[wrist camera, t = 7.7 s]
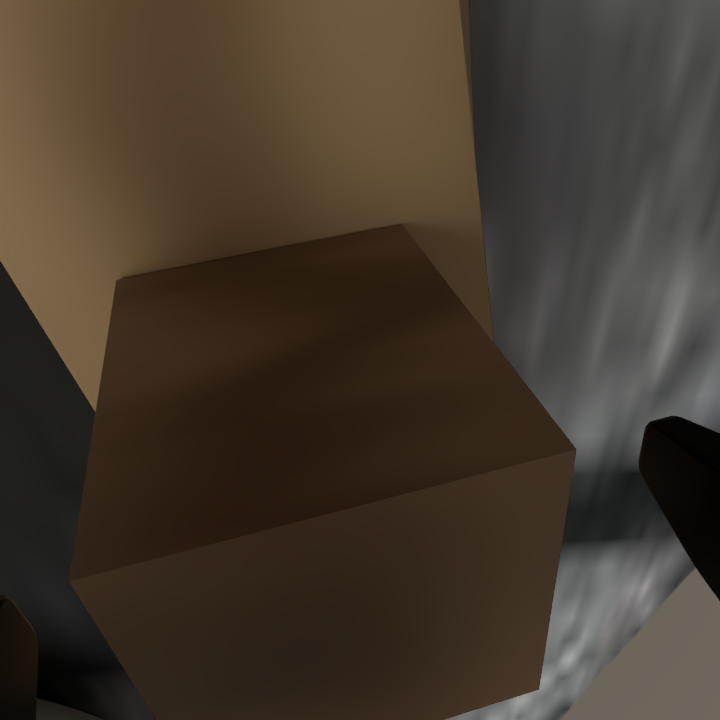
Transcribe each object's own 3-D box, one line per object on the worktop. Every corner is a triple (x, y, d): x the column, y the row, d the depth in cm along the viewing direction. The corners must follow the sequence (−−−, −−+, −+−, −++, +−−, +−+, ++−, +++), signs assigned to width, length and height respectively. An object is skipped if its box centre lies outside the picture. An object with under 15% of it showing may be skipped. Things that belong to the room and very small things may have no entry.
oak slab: (371, -205, 10) (432, -251, 8) (472, 462, 20) (514, 536, 17) (-119, -80, 10) (-219, -89, 7) (227, 546, 19) (235, 635, 17)
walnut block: (401, 224, 11) (577, 449, 6) (413, 429, 14) (539, 689, 9) (116, 279, 10) (68, 581, 6) (192, 484, 13) (203, 795, 9)
